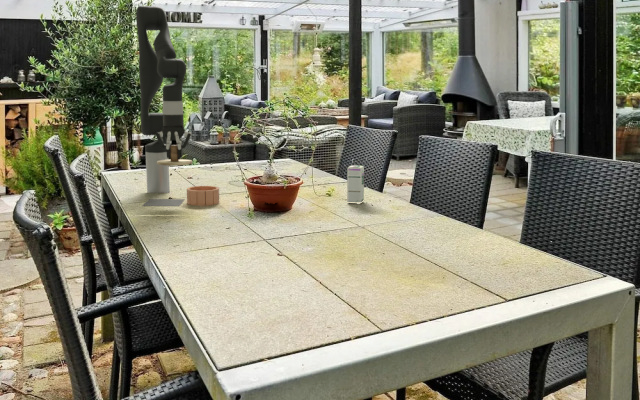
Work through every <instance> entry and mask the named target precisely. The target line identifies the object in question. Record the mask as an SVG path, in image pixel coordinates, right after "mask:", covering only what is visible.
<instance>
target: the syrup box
mask: <svg viewBox="0 0 640 400" xmlns="http://www.w3.org/2000/svg"><path fill="white" fill-rule="evenodd" d="M346 170H347V171H346V172H347V174H346V175H347V177H346V180H347V186H346V188H347V190H346V191H347V192H346V193H347V195H346V196H347V201H346V202H362V201H363V200H364V201H365V194H364V193H365V166H364V165H350V166H348V167H347V169H346Z"/></svg>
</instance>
